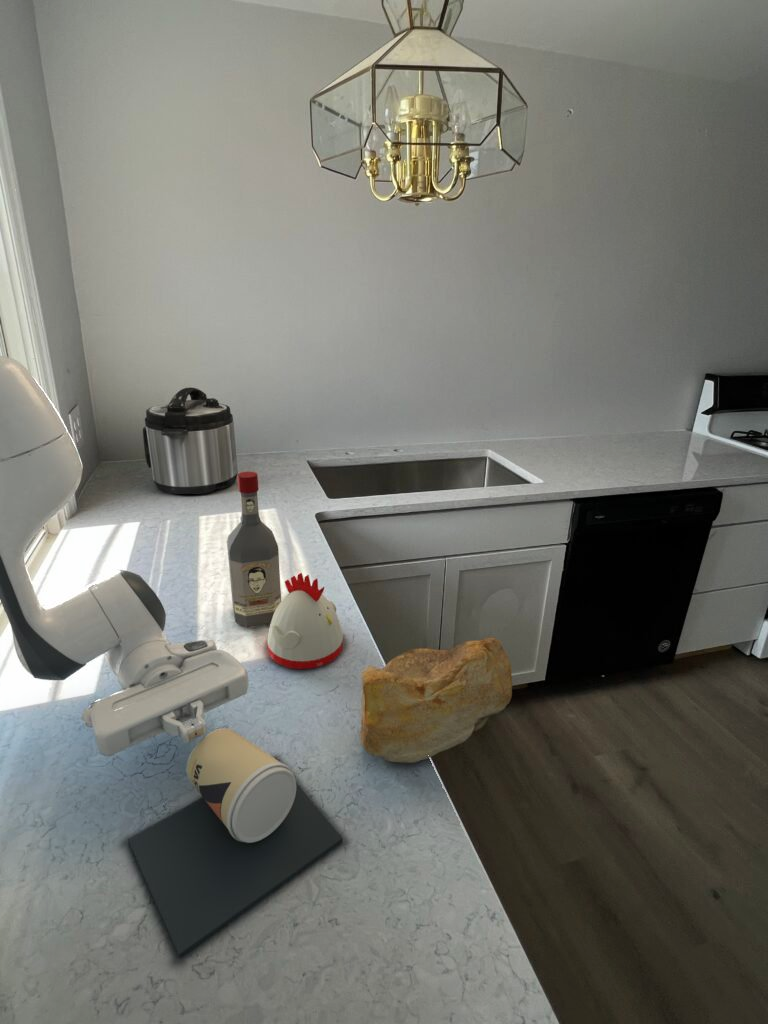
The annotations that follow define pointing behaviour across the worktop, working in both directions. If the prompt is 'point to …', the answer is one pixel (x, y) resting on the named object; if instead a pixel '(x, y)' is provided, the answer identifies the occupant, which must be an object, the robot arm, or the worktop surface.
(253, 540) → the liquor
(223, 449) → the pressure cooker
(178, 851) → the slate mat
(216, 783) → the coffee cup
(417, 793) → the worktop surface
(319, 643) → the kitchen timer
